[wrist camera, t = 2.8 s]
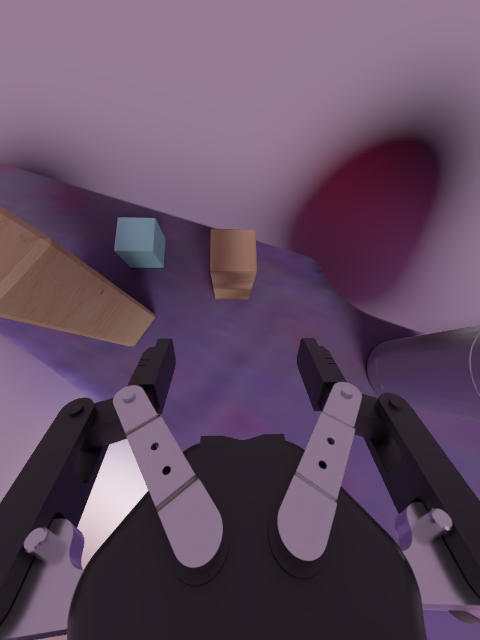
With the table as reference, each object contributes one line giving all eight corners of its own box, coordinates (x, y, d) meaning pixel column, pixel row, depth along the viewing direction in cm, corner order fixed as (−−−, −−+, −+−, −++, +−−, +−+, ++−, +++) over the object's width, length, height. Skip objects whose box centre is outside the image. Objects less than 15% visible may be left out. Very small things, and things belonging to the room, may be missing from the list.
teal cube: (165, 238, 35) (155, 217, 30) (163, 268, 34) (152, 251, 29) (133, 238, 35) (117, 217, 30) (130, 267, 34) (113, 250, 29)
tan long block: (247, 268, 35) (255, 229, 25) (248, 299, 34) (256, 271, 24) (215, 268, 35) (210, 228, 25) (215, 299, 34) (210, 270, 24)
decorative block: (71, 307, 32) (-172, 212, 13) (98, 276, 33) (-87, 146, 14) (133, 349, 31) (-26, 317, 12) (158, 316, 32) (51, 238, 13)
